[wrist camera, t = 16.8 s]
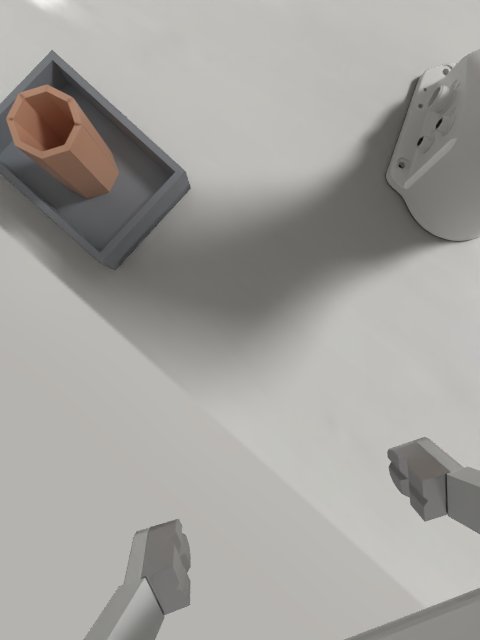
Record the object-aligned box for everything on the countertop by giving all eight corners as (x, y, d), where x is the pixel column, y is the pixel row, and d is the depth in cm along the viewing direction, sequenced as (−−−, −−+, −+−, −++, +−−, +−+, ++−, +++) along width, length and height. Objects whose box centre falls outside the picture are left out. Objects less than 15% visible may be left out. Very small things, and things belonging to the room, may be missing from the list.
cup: (56, 154, 35) (-1, 99, 26) (107, 138, 35) (66, 78, 26) (73, 203, 35) (21, 165, 26) (123, 187, 35) (88, 143, 26)
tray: (-5, 161, 35) (-36, 141, 31) (72, 80, 36) (52, 49, 32) (115, 269, 36) (100, 263, 32) (190, 188, 36) (185, 171, 32)
